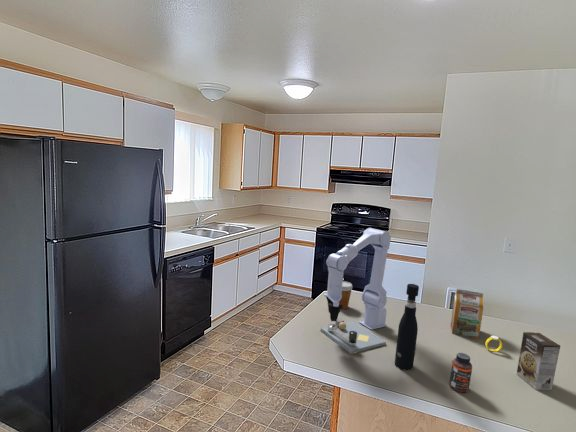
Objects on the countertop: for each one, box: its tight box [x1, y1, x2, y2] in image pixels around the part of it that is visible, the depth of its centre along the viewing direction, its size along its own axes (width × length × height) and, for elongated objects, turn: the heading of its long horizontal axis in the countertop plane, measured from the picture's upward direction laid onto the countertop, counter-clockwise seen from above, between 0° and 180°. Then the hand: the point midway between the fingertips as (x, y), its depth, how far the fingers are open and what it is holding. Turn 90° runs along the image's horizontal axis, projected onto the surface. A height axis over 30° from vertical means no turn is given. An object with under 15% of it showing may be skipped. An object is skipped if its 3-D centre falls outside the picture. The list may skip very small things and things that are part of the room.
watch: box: [484, 335, 503, 353], centre depth 141 cm, size 6×3×6 cm, turn 86°
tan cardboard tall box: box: [450, 288, 484, 340], centre depth 156 cm, size 11×11×19 cm
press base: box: [320, 318, 387, 355], centre depth 145 cm, size 18×20×4 cm
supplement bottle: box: [448, 352, 473, 393], centre depth 114 cm, size 6×6×11 cm
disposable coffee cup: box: [339, 280, 353, 310], centre depth 176 cm, size 10×10×12 cm
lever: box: [327, 323, 357, 347], centre depth 141 cm, size 16×4×5 cm, turn 29°
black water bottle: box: [394, 283, 420, 371], centre depth 124 cm, size 6×6×30 cm
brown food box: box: [516, 331, 561, 391], centre depth 120 cm, size 9×6×16 cm
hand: (332, 316), depth 140 cm, fingers open, 7 cm apart
